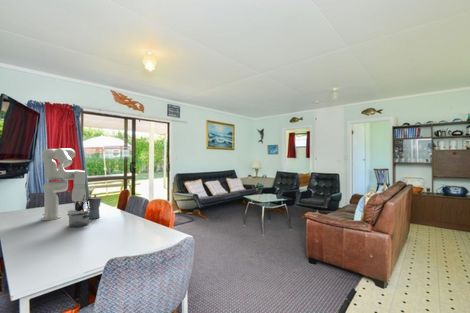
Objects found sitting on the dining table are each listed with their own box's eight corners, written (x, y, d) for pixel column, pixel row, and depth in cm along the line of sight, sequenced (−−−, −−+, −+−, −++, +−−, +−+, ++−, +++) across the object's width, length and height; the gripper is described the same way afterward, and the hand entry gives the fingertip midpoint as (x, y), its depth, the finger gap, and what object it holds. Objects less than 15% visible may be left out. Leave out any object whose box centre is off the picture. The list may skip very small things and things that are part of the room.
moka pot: (104, 216, 207) (104, 193, 207) (92, 220, 191) (92, 196, 191) (94, 215, 208) (95, 193, 208) (81, 220, 192) (82, 196, 192)
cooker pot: (61, 226, 176) (61, 214, 176) (77, 221, 189) (77, 210, 189) (81, 228, 170) (81, 216, 170) (96, 224, 182) (96, 212, 182)
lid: (63, 212, 175) (63, 204, 175) (81, 209, 188) (81, 201, 188) (76, 214, 170) (76, 206, 170) (93, 210, 184) (93, 202, 184)
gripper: (66, 186, 178) (66, 210, 178) (82, 187, 173) (82, 211, 173) (76, 185, 185) (76, 208, 185) (91, 186, 180) (91, 209, 180)
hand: (79, 209), depth 179 cm, fingers closed on lid, 3 cm apart
